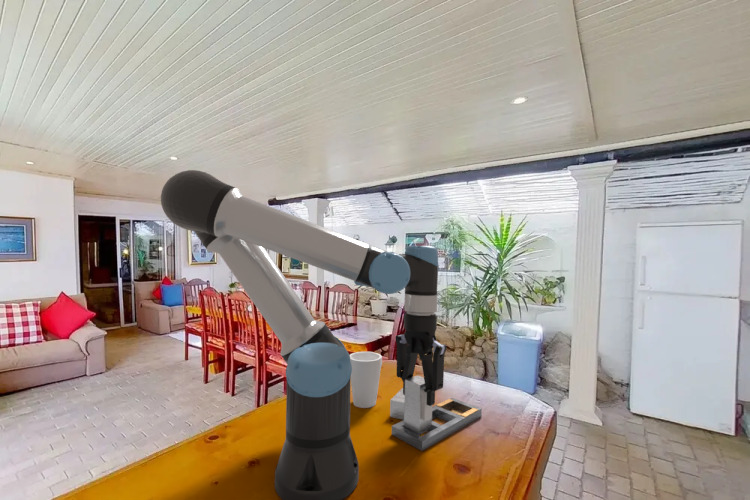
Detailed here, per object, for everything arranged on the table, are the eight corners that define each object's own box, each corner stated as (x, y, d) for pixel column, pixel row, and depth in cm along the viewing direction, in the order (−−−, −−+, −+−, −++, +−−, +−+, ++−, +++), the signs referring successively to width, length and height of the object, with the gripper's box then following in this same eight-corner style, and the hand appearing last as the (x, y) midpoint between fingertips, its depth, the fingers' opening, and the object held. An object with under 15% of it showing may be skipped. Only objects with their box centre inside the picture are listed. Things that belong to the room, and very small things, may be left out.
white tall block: (418, 435, 76) (420, 385, 76) (403, 427, 79) (405, 379, 79) (431, 428, 79) (432, 380, 79) (416, 421, 82) (417, 375, 82)
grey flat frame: (422, 451, 73) (422, 440, 73) (391, 434, 79) (391, 425, 79) (481, 416, 89) (481, 407, 89) (452, 405, 95) (452, 397, 95)
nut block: (406, 421, 86) (406, 403, 86) (390, 417, 88) (390, 400, 88) (419, 404, 96) (420, 388, 96) (404, 401, 98) (404, 385, 98)
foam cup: (382, 397, 100) (383, 352, 100) (380, 411, 91) (380, 362, 91) (350, 395, 101) (351, 351, 101) (344, 409, 92) (345, 360, 92)
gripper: (462, 316, 76) (460, 423, 75) (403, 306, 88) (401, 397, 88) (441, 320, 70) (439, 434, 70) (382, 309, 83) (379, 405, 83)
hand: (418, 414), depth 79 cm, fingers closed on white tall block, 4 cm apart
